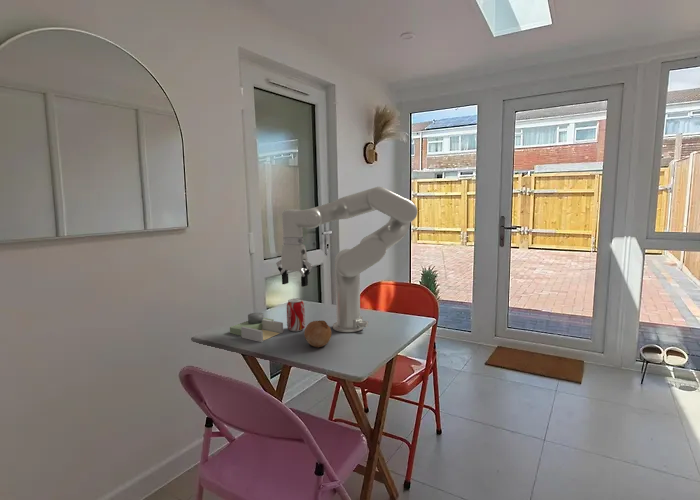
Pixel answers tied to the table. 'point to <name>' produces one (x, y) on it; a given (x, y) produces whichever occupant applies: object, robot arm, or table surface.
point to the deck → (257, 328)
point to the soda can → (295, 315)
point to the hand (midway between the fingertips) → (294, 284)
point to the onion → (317, 333)
